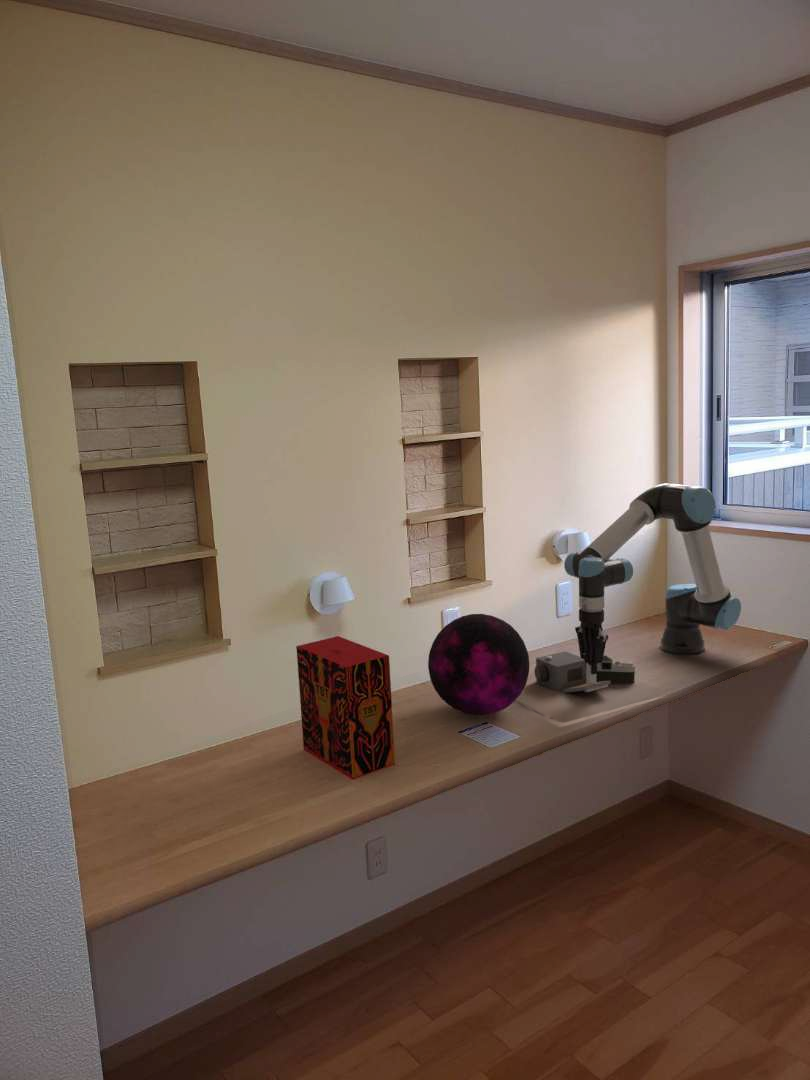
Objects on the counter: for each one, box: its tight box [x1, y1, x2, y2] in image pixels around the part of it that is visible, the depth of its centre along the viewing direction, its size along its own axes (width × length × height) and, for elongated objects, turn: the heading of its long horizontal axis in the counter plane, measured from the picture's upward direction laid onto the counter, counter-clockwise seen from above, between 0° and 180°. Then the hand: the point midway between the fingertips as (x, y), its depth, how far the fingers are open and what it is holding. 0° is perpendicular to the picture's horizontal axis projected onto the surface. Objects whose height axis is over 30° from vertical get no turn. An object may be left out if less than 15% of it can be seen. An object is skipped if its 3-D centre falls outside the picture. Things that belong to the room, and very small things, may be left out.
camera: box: [596, 654, 636, 685], centre depth 285 cm, size 16×9×10 cm, turn 83°
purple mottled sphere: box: [427, 613, 530, 716], centre depth 264 cm, size 30×30×30 cm
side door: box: [560, 681, 612, 694], centre depth 275 cm, size 10×2×13 cm
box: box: [295, 635, 396, 780], centre depth 236 cm, size 25×13×30 cm, turn 36°
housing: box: [534, 651, 586, 692], centre depth 284 cm, size 14×11×10 cm
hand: (591, 683), depth 271 cm, fingers closed
